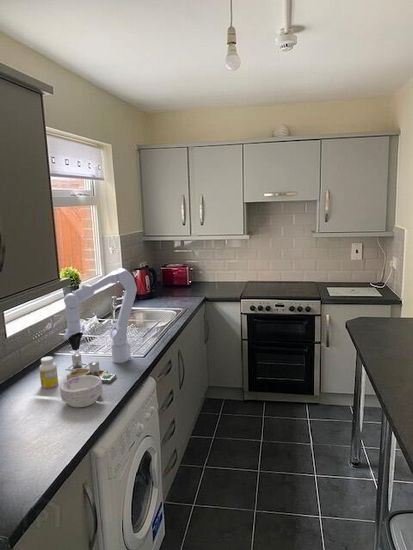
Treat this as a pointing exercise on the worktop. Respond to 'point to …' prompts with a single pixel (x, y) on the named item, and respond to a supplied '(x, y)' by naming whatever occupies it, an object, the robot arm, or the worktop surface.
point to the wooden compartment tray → (83, 373)
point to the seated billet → (94, 369)
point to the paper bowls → (81, 390)
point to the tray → (74, 369)
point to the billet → (76, 361)
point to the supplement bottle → (48, 373)
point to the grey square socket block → (106, 380)
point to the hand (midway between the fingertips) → (75, 349)
